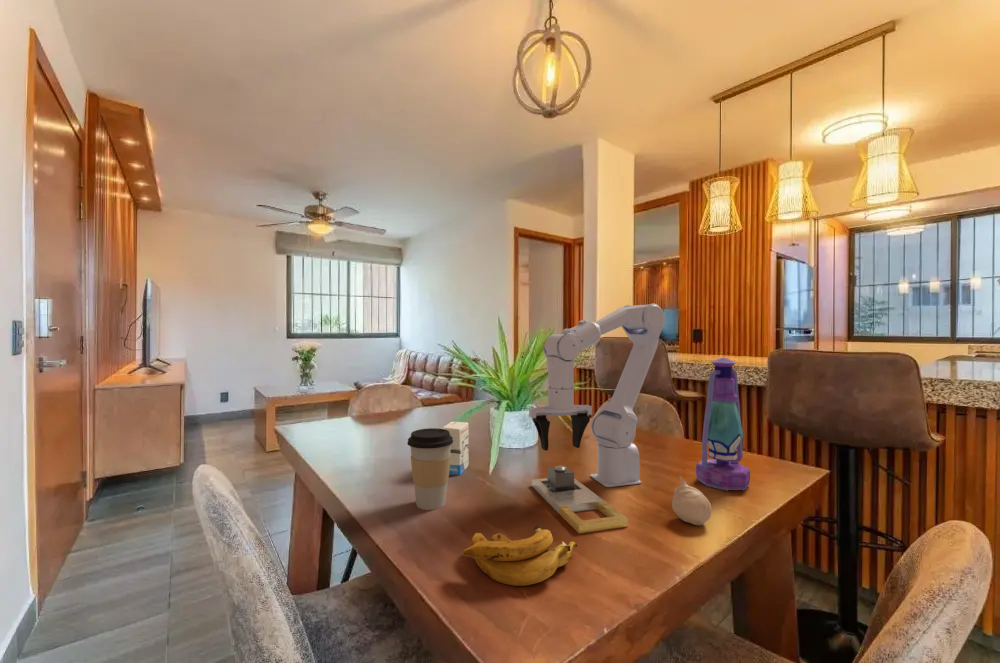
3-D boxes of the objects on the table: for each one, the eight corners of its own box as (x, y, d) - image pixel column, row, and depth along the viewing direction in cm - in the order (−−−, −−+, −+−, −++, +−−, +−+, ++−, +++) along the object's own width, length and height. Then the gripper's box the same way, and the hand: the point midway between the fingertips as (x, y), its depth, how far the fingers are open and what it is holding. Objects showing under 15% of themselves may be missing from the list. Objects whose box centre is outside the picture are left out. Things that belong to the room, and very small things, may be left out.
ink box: (460, 476, 106) (460, 429, 106) (441, 475, 107) (441, 428, 107) (469, 465, 115) (469, 421, 115) (451, 464, 116) (451, 420, 116)
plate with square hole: (571, 481, 103) (571, 475, 103) (627, 526, 80) (627, 518, 80) (531, 486, 100) (531, 479, 100) (578, 533, 77) (578, 525, 77)
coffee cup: (460, 499, 92) (460, 429, 92) (440, 517, 83) (440, 440, 83) (421, 493, 95) (421, 425, 95) (398, 510, 87) (398, 436, 86)
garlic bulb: (705, 517, 84) (705, 476, 84) (714, 532, 78) (715, 488, 78) (669, 513, 85) (670, 473, 85) (676, 528, 79) (676, 485, 79)
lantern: (719, 472, 110) (719, 355, 110) (764, 487, 100) (765, 358, 99) (682, 480, 104) (683, 356, 104) (726, 497, 94) (727, 360, 93)
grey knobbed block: (565, 487, 99) (565, 463, 99) (574, 494, 95) (574, 469, 95) (547, 489, 98) (547, 465, 98) (555, 497, 94) (555, 471, 94)
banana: (598, 575, 64) (599, 538, 64) (479, 606, 57) (479, 563, 57) (549, 531, 79) (549, 499, 79) (448, 550, 71) (448, 516, 71)
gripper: (581, 384, 102) (581, 441, 102) (524, 386, 98) (524, 445, 98) (596, 388, 96) (596, 449, 96) (535, 390, 91) (535, 454, 92)
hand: (560, 448), depth 97 cm, fingers open, 7 cm apart
